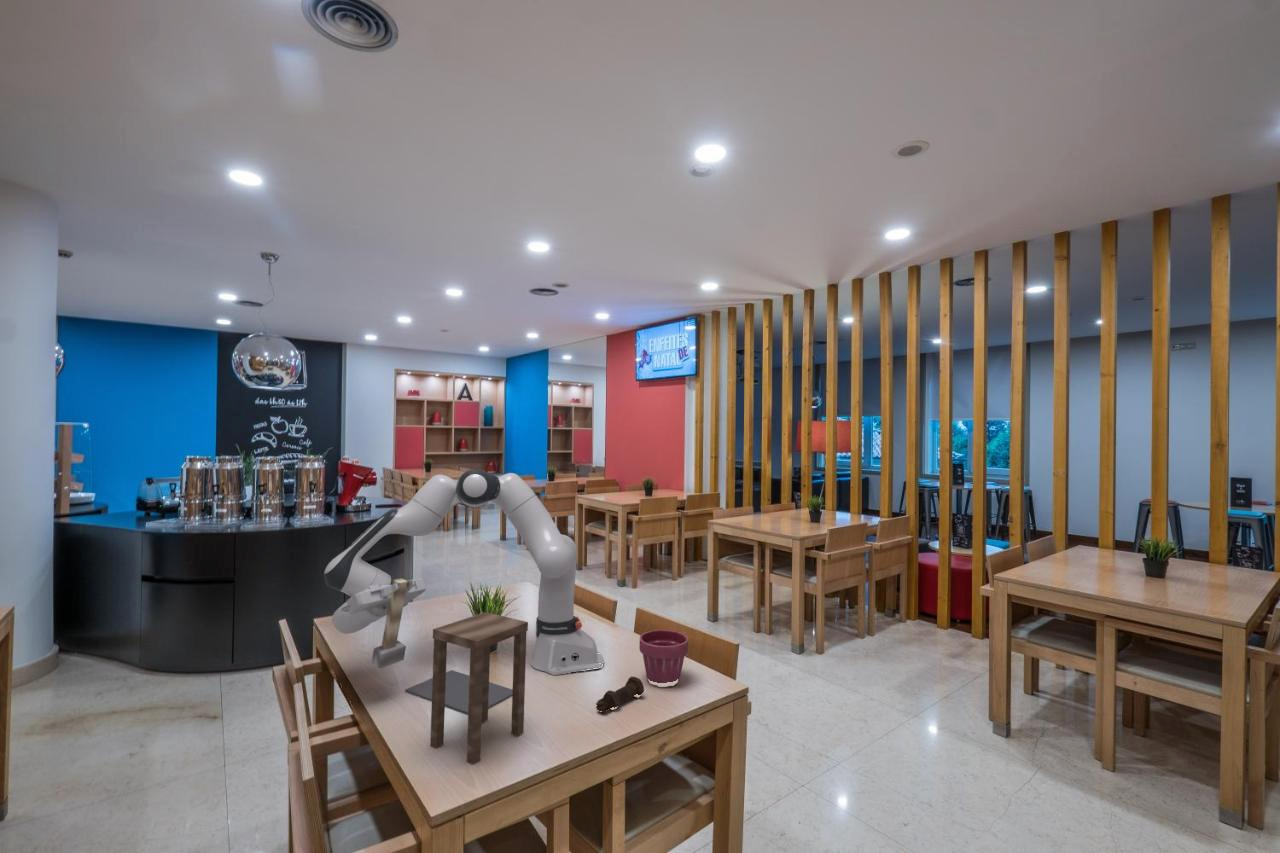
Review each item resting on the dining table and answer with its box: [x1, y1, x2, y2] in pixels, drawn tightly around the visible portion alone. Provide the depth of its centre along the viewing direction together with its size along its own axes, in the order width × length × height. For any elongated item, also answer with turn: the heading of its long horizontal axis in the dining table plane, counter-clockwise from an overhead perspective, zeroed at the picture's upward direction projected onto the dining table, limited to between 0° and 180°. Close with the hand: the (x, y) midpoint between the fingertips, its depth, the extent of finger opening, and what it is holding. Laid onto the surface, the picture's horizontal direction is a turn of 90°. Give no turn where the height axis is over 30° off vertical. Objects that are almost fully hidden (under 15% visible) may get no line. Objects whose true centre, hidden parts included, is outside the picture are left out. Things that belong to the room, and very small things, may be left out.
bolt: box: [595, 676, 645, 713], centre depth 150 cm, size 6×5×15 cm
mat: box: [404, 669, 513, 716], centre depth 155 cm, size 26×16×1 cm, turn 60°
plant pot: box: [639, 629, 689, 683], centre depth 165 cm, size 14×14×13 cm
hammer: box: [371, 577, 408, 670], centre depth 148 cm, size 22×7×4 cm
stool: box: [429, 611, 529, 765], centre depth 131 cm, size 14×16×26 cm
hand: (405, 584), depth 146 cm, fingers closed on hammer, 3 cm apart
